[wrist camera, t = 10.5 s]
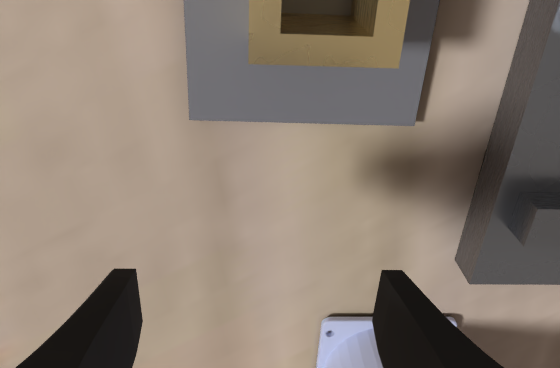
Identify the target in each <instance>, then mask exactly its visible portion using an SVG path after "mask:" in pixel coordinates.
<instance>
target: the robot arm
mask: <svg viewBox="0 0 560 368" xmlns="http://www.w3.org/2000/svg"><path fill="white" fill-rule="evenodd" d="M142 322H143V320H142V313H141V305H140V297H139V289H138V281H137V274H136V269H113V270H112V271H111V272H110V273H109V275H108V276H107V277H106V278H105V279H104V280H103V281H102V283H101V284H100V285H99V286H98V287H97V288H96V289H95V291H94V292H93V293H92V294H91V295H90V296H89V297H88V298H87V300H86V301H85V302H84V303H83V304H82V305H81V306H80V307H79V308H78V309H77V310H76V311H75V312H74V314H73V315H72V316H71V317H70V318H69V319H68V320H67V321H66V322H65V323H64V324H63V325H62V326H61V327H60V328H59V329H58V330H57V331H56V332H55V333H54V334H53V335H52V336H51V337H49V338H48V339H47V340H46V341H45V342H44V343H43V344H42V345H41V346H40V347H39V348H38V349H37V350H36V351H34V352H33V353H32V354H31V355H30V356H29V357H28V358H26V359H25V360H24V361H23V362H22V363H20V364H19V365H18V366H17V367H16V368H132V366H133V363H134V360H135V357H136V353H137V348H138V343H139V338H140V333H141V327H142ZM327 331H331V332H327ZM316 368H503V367H502V366H501V365H500V364H498V363H497V362H496V361H495V360H493V359H492V358H491V357H490V356H488V355H487V354H486V353H485V352H483V351H482V350H481V349H480V348H479V347H477V346H476V345H475V344H474V343H473V342H472V341H471V340H470V339H469V338H467V337H466V336H465V335H464V334H463V333H462V332H461V331H460V330H459V329H458V328H457V323H456V321H455V319H454V318H453V317H445V316H444V315H443V314H442V313H441V312H440V311H439V310H438V308H437V307H436V306H435V305H434V304H433V303H432V302H431V301H430V300H429V299H428V298H427V297H426V296H425V295H424V294H423V292H422V291H421V290H420V289H419V288H418V287H417V286H416V285H415V284H414V283H413V282H412V280H411V279H410V278H409V277H408V276H407V275H406V274H405V273H404V272H403V271H402V270H382V272H381V277H380V282H379V287H378V292H377V297H376V302H375V308H374V313H373V317H327V318H325V319H324V320H323V321H322V323H321V331H320V339H319V347H318V355H317V363H316Z"/></svg>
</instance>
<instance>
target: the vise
mask: <svg viewBox="0 0 560 368" xmlns="http://www.w3.org/2000/svg"><path fill="white" fill-rule="evenodd" d="M455 261H456V263H457V264H458V266H459V268H460V269H461V271H462V273H463V274H464V276H465V278H466V279H467V281H468V283H469V284H552V285H560V0H530V2H529V5H528V9H527V12H526V16H525V19H524V23H523V26H522V29H521V33H520V36H519V40H518V43H517V47H516V50H515V54H514V57H513V61H512V64H511V67H510V71H509V74H508V78H507V81H506V85H505V88H504V92H503V95H502V98H501V102H500V105H499V109H498V112H497V116H496V119H495V123H494V126H493V129H492V133H491V136H490V140H489V143H488V147H487V150H486V154H485V157H484V161H483V164H482V167H481V171H480V174H479V178H478V181H477V185H476V188H475V192H474V195H473V198H472V202H471V205H470V209H469V212H468V216H467V219H466V223H465V226H464V230H463V233H462V236H461V240H460V243H459V247H458V250H457V254H456V257H455Z"/></svg>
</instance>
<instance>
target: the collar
mask: <svg viewBox="0 0 560 368" xmlns="http://www.w3.org/2000/svg"><path fill="white" fill-rule="evenodd" d="M409 3H410V0H352V6H351V15H325V14H297V13H281V4H282V0H249V54H248V64H259V65H294V66H328V67H363V68H398V69H399V63H400V57H401V51H402V45H403V39H404V33H405V27H406V21H407V15H408V9H409Z"/></svg>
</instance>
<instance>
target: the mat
mask: <svg viewBox="0 0 560 368" xmlns="http://www.w3.org/2000/svg"><path fill="white" fill-rule="evenodd" d="M439 1H440V0H410V3H409V9H408V15H407V21H406V27H405V33H404V39H403V45H402V51H401V57H400V63H399V69H398V68H363V67H328V66H294V65H259V64H248V54H249V0H184V17H185V37H186V58H187V79H188V100H189V120H208V121H245V122H283V123H320V124H357V125H394V126H414V125H415V120H416V115H417V110H418V105H419V100H420V95H421V91H422V86H423V81H424V76H425V71H426V66H427V61H428V56H429V51H430V46H431V41H432V36H433V31H434V26H435V21H436V16H437V11H438V6H439ZM351 6H352V0H282V4H281V13H297V14H325V15H351Z"/></svg>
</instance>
